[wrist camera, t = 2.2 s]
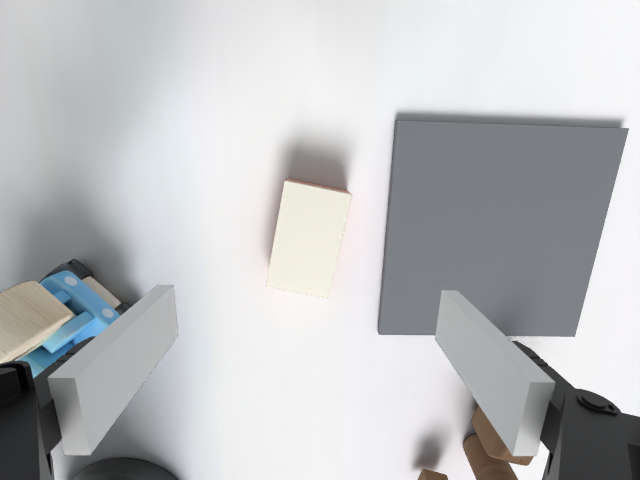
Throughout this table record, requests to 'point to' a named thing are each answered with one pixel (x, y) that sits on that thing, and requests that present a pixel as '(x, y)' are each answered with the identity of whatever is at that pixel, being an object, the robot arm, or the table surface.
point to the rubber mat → (495, 222)
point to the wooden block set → (485, 454)
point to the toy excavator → (54, 315)
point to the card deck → (307, 238)
